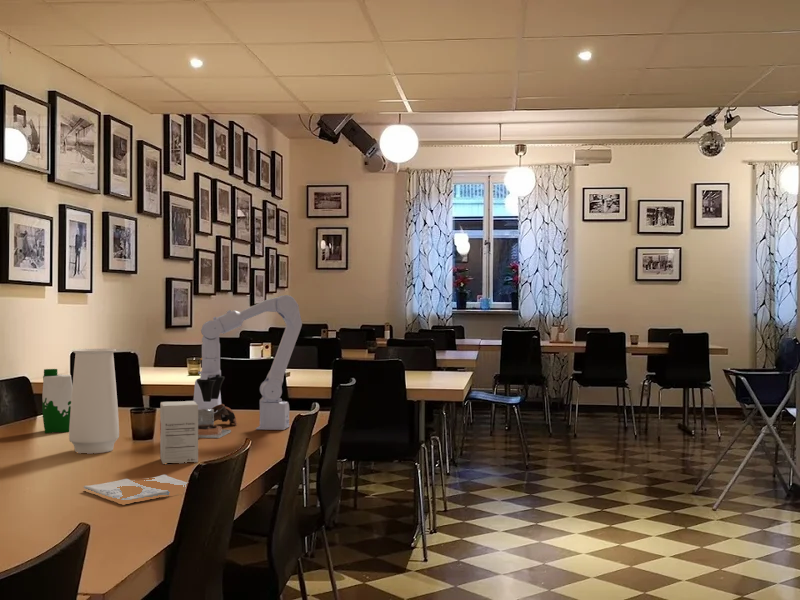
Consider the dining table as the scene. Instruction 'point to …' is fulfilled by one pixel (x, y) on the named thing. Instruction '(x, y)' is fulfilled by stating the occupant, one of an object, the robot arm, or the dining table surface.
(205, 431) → the flange plate
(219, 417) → the pottery mug
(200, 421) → the grey cylinder
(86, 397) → the vase
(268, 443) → the dining table surface
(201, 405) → the soap bottle
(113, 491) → the white flat pieces
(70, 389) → the milk carton
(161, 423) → the supplement box
